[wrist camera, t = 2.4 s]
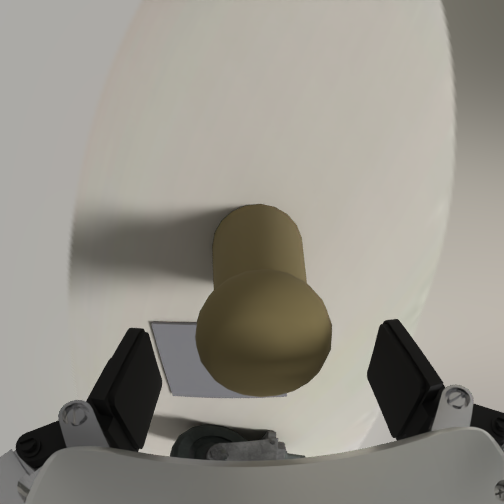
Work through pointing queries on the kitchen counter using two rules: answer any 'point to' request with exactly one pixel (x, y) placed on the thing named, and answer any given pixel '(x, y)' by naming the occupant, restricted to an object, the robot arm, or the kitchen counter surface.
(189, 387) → the mat
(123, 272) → the kitchen counter surface
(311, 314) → the cork
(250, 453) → the caster wheel
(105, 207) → the kitchen counter surface
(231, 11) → the kitchen counter surface
